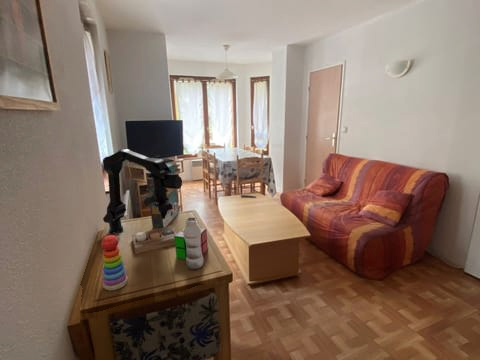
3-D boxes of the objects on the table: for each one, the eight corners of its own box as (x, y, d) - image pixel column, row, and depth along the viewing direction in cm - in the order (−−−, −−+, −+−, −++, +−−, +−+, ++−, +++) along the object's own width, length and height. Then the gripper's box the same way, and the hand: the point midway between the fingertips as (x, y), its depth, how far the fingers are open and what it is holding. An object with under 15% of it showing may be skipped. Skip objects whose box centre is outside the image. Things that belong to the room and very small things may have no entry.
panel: (132, 240, 122) (131, 234, 121) (172, 231, 130) (171, 225, 129) (135, 253, 110) (135, 247, 109) (179, 242, 118) (178, 236, 117)
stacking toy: (112, 294, 85) (102, 244, 80) (98, 286, 89) (89, 238, 85) (132, 281, 92) (125, 234, 87) (119, 274, 96) (111, 229, 91)
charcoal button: (163, 237, 123) (162, 230, 123) (171, 235, 125) (171, 228, 124) (165, 240, 120) (164, 234, 119) (173, 238, 122) (173, 232, 121)
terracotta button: (150, 240, 121) (149, 233, 120) (159, 238, 123) (158, 231, 122) (151, 244, 117) (150, 237, 116) (161, 241, 119) (160, 235, 118)
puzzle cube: (208, 249, 112) (206, 228, 109) (197, 261, 103) (195, 239, 100) (188, 246, 115) (186, 225, 112) (176, 257, 106) (173, 236, 103)
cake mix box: (169, 212, 155) (164, 164, 147) (178, 212, 154) (174, 164, 146) (152, 228, 134) (145, 173, 126) (163, 228, 133) (157, 173, 125)
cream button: (136, 239, 118) (135, 233, 117) (145, 237, 119) (145, 231, 119) (137, 243, 114) (136, 237, 113) (147, 241, 116) (146, 234, 115)
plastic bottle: (200, 272, 96) (196, 223, 90) (183, 270, 97) (179, 222, 92) (206, 262, 102) (202, 216, 97) (190, 261, 103) (186, 215, 98)
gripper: (138, 184, 121) (142, 215, 125) (144, 195, 105) (148, 230, 109) (162, 181, 126) (165, 211, 130) (171, 191, 110) (174, 224, 114)
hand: (163, 218), depth 121 cm, fingers closed
